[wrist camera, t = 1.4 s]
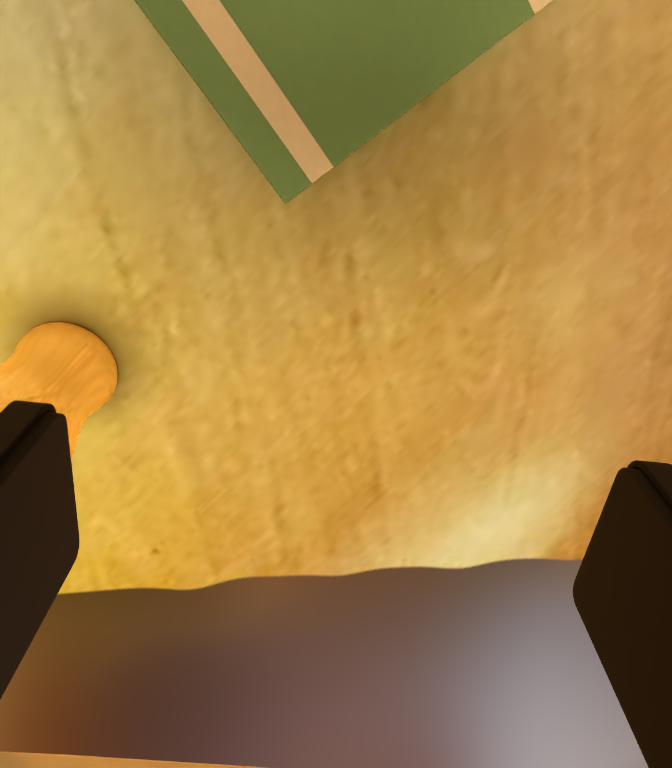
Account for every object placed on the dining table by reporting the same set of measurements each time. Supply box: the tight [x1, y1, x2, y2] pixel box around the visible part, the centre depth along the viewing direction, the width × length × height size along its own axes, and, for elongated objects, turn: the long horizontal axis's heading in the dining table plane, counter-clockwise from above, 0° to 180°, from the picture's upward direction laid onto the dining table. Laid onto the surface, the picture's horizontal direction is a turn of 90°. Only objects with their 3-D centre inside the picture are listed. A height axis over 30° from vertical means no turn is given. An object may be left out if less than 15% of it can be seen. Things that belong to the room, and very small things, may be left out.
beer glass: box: [0, 322, 118, 456], centre depth 31 cm, size 7×7×15 cm
